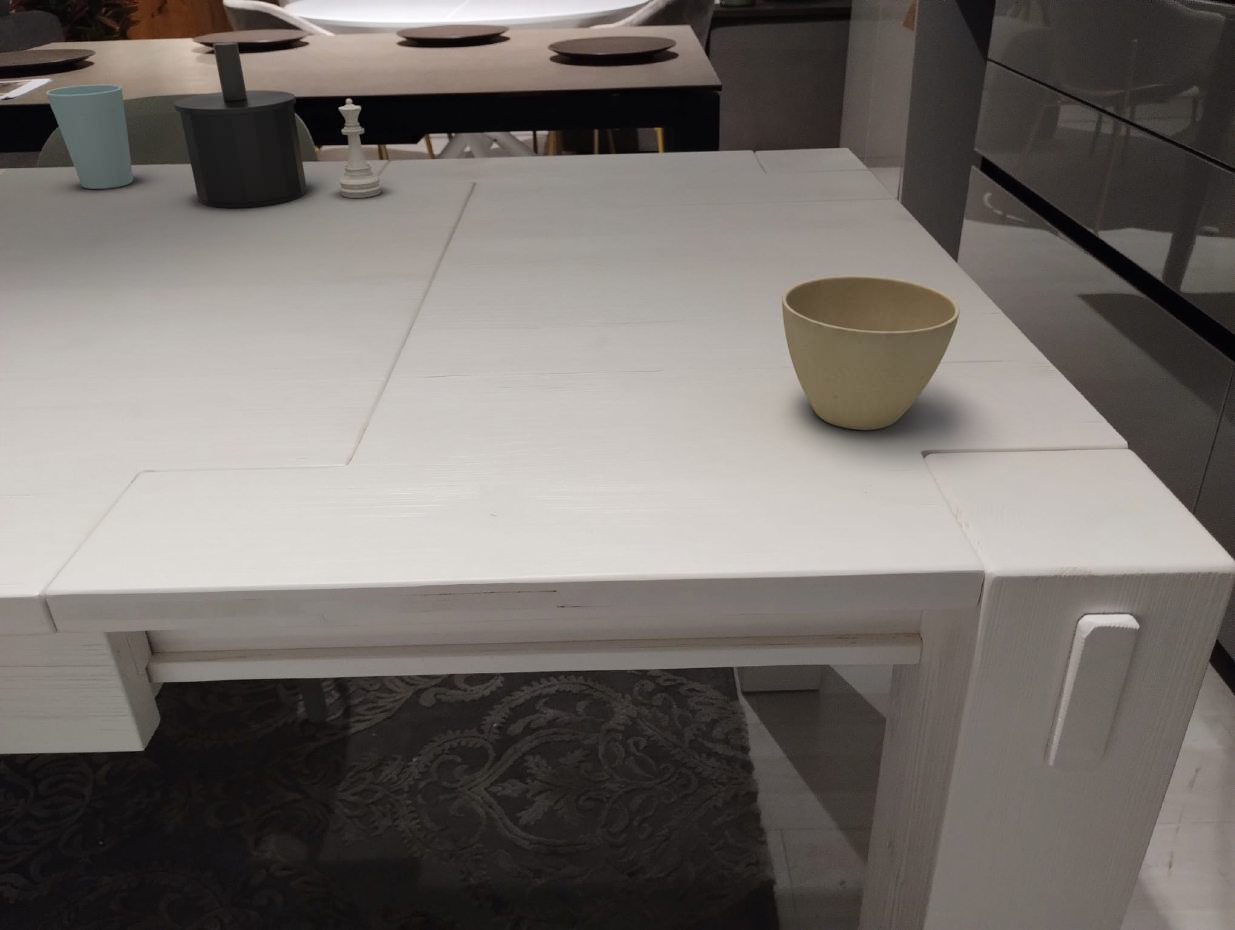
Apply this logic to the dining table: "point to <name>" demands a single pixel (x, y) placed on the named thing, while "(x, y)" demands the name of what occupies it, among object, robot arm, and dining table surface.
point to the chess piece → (356, 159)
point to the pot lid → (233, 90)
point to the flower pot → (866, 345)
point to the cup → (94, 133)
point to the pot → (245, 158)
